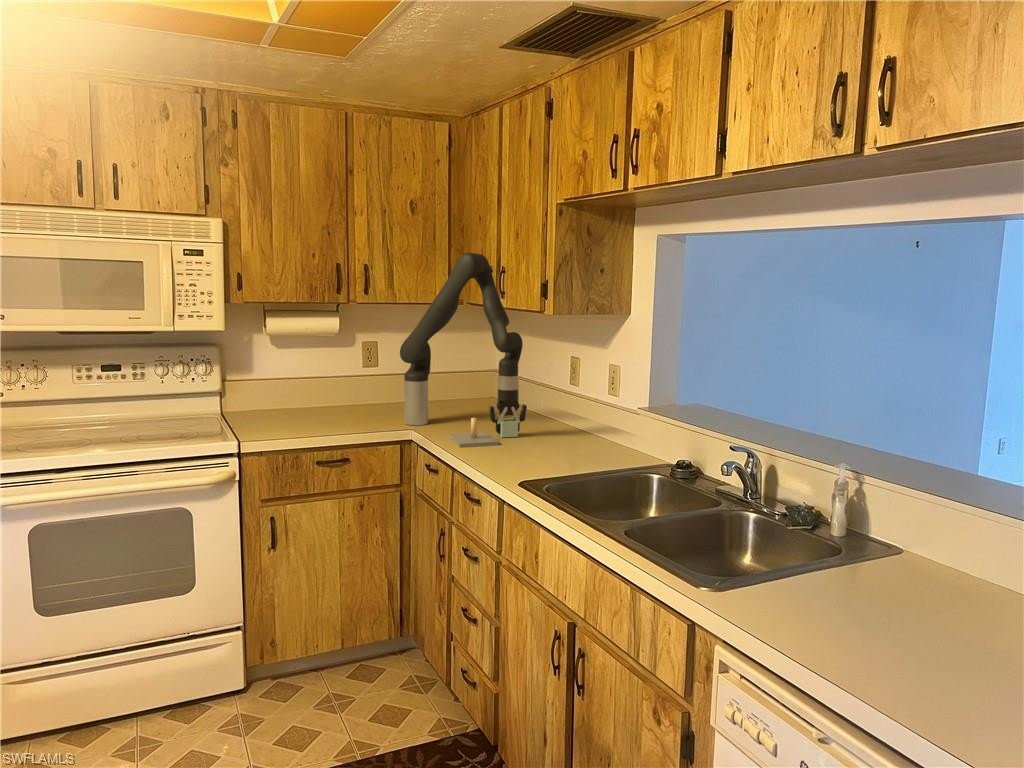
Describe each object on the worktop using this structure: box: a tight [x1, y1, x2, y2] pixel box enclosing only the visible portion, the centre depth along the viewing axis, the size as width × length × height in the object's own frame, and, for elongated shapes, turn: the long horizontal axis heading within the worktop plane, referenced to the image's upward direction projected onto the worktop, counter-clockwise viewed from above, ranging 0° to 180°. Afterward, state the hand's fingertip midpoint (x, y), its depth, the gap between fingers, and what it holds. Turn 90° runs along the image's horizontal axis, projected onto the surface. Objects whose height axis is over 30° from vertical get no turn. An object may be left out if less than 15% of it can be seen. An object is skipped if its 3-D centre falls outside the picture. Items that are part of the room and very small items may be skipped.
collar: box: [497, 418, 519, 438], centre depth 268 cm, size 6×6×6 cm
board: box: [449, 417, 500, 448], centre depth 259 cm, size 16×14×8 cm
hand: (507, 433), depth 268 cm, fingers closed on collar, 6 cm apart
